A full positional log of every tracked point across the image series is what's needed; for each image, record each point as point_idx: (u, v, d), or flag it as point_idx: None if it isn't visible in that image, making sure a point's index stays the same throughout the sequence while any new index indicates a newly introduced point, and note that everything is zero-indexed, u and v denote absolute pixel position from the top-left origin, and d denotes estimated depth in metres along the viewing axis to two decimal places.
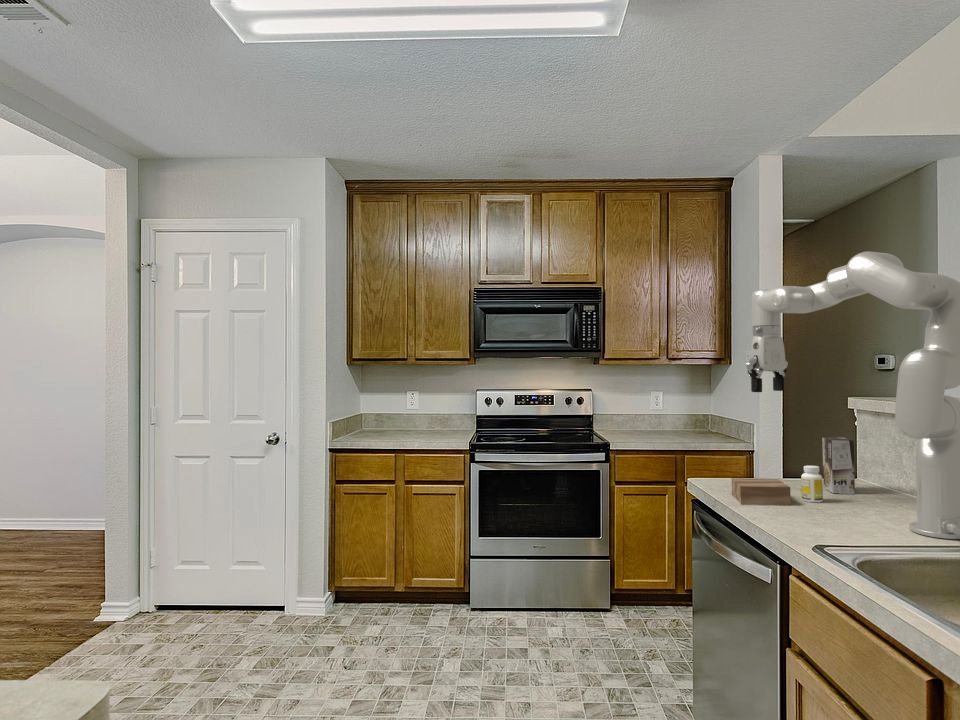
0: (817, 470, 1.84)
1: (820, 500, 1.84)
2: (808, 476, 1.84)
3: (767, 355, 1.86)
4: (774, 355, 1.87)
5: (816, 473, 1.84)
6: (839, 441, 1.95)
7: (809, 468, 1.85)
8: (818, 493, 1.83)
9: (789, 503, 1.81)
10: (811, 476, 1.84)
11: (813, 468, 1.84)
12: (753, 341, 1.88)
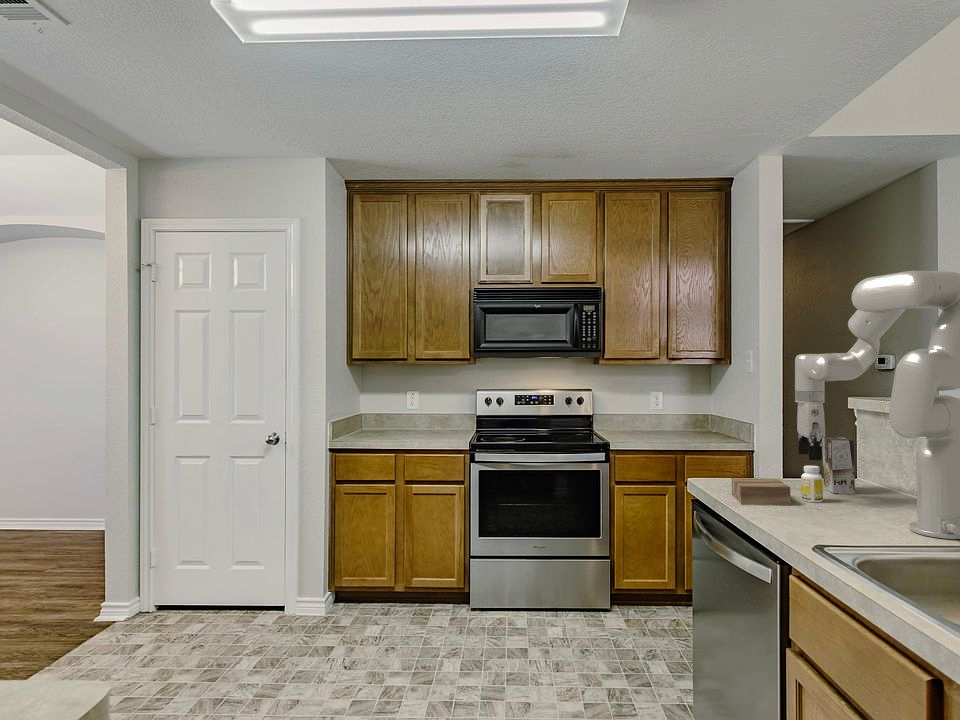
0: (817, 470, 1.84)
1: (820, 500, 1.84)
2: (808, 476, 1.84)
3: None
4: None
5: (816, 473, 1.84)
6: (839, 441, 1.95)
7: (809, 468, 1.85)
8: (818, 493, 1.83)
9: (789, 503, 1.81)
10: (811, 476, 1.84)
11: (813, 468, 1.84)
12: (810, 407, 1.82)
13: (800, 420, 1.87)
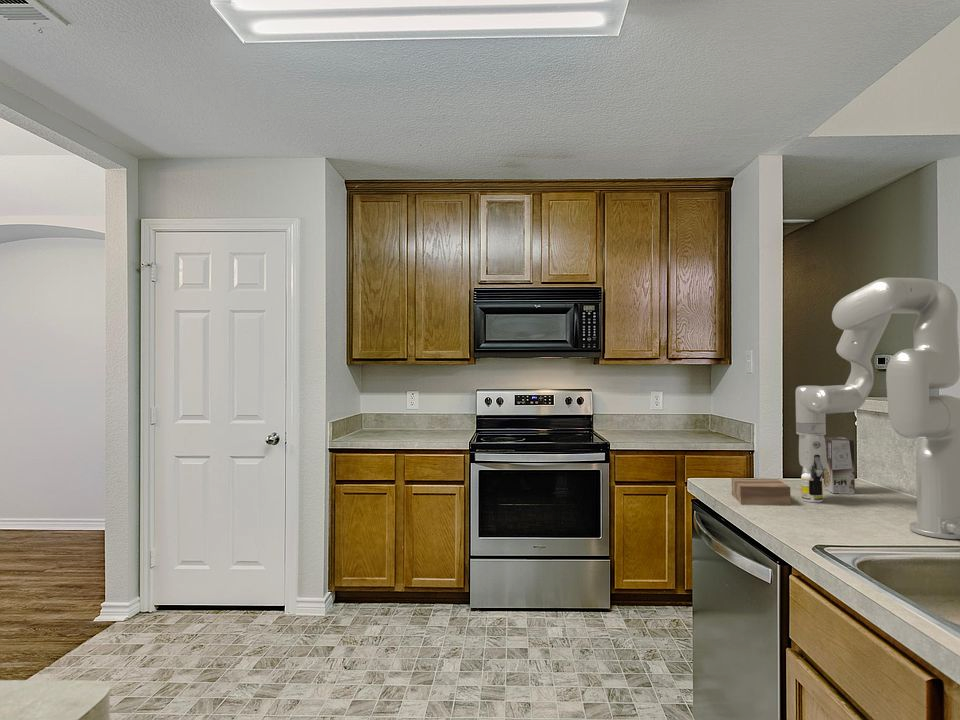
0: None
1: (820, 500, 1.84)
2: (808, 476, 1.84)
3: None
4: None
5: None
6: (839, 441, 1.95)
7: None
8: None
9: (789, 503, 1.81)
10: None
11: (813, 468, 1.84)
12: (811, 440, 1.82)
13: (802, 452, 1.87)
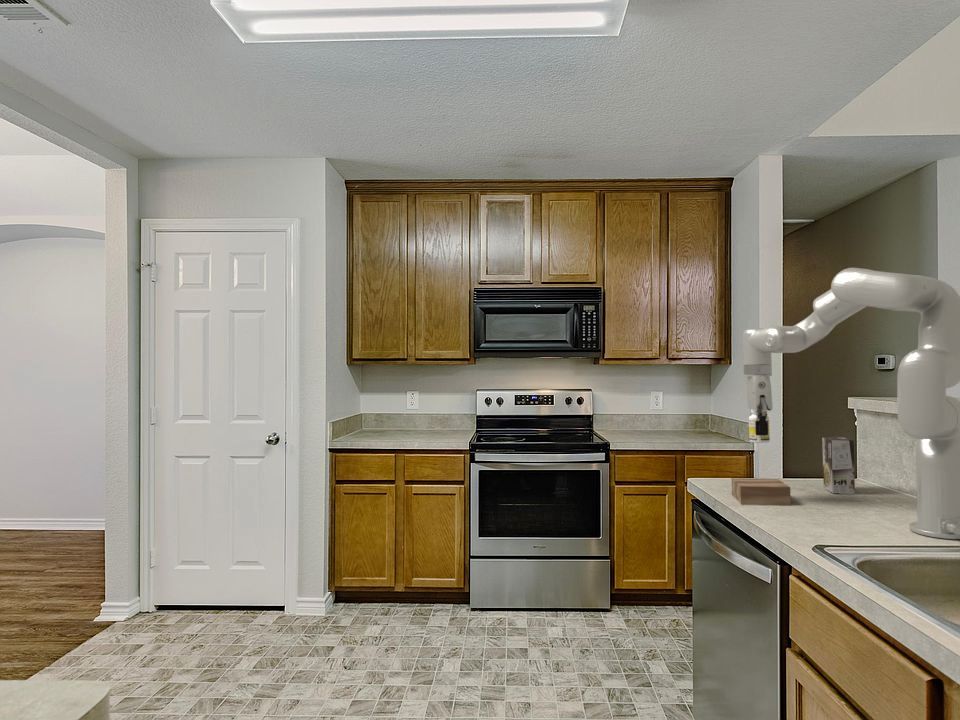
0: None
1: (766, 440, 1.86)
2: (754, 417, 1.87)
3: None
4: None
5: None
6: (839, 441, 1.95)
7: None
8: None
9: (789, 503, 1.81)
10: None
11: (759, 409, 1.87)
12: (757, 380, 1.85)
13: (749, 394, 1.89)
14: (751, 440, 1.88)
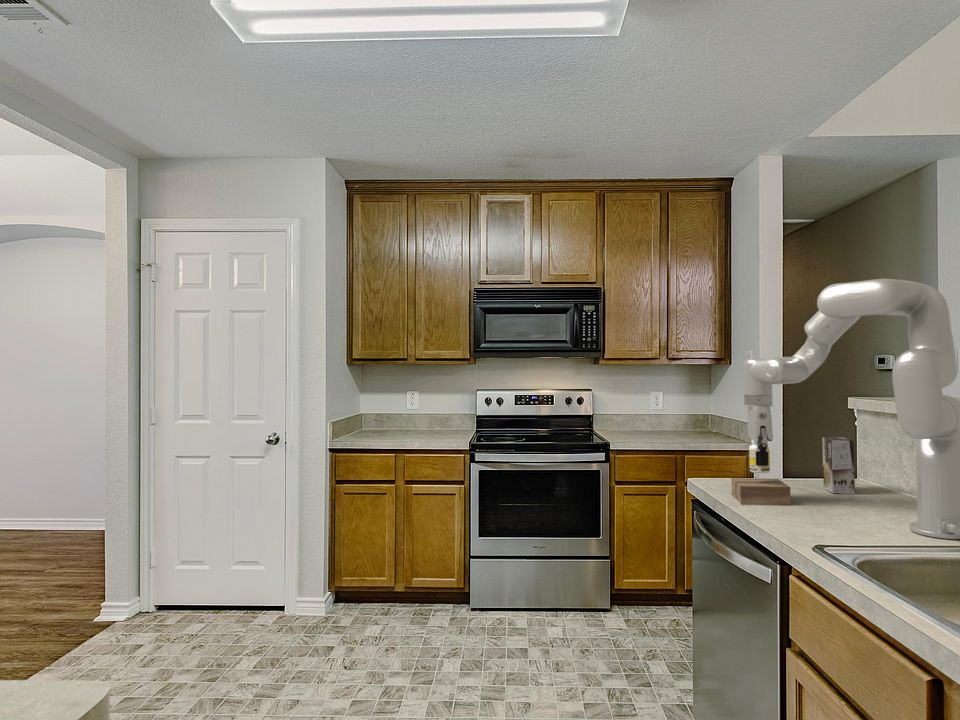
0: None
1: (767, 471, 1.86)
2: (755, 448, 1.87)
3: None
4: None
5: None
6: (839, 441, 1.95)
7: None
8: None
9: (789, 503, 1.81)
10: None
11: (760, 439, 1.87)
12: (758, 411, 1.84)
13: (749, 424, 1.89)
14: (751, 470, 1.88)
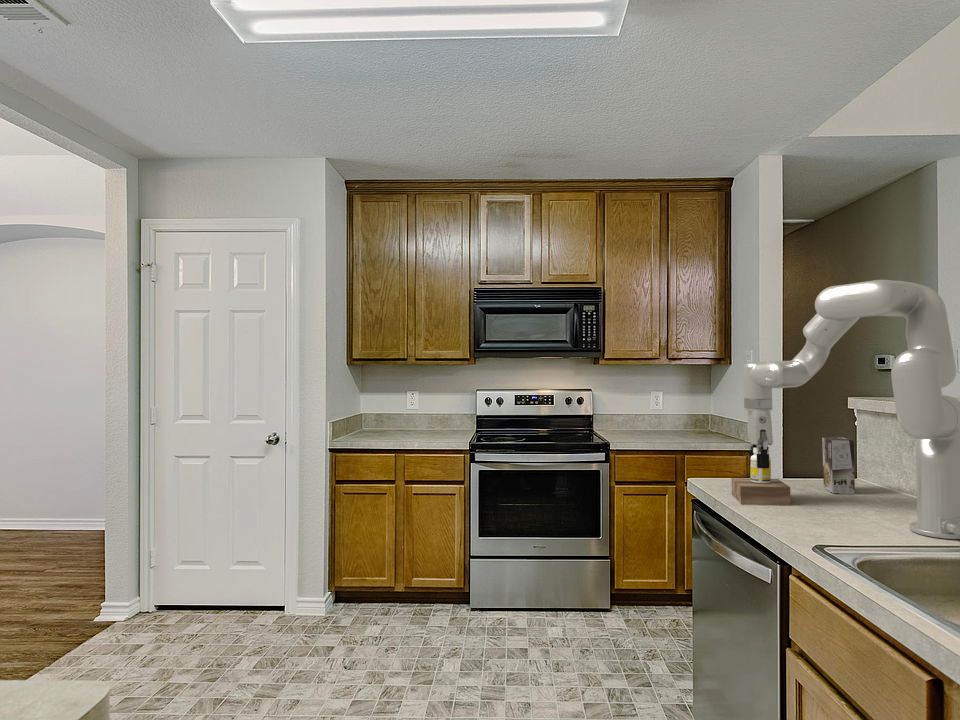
0: None
1: (768, 481, 1.86)
2: (756, 458, 1.87)
3: None
4: None
5: None
6: (839, 441, 1.95)
7: None
8: (766, 474, 1.86)
9: (789, 503, 1.81)
10: None
11: None
12: (758, 415, 1.85)
13: (749, 428, 1.89)
14: (752, 480, 1.88)
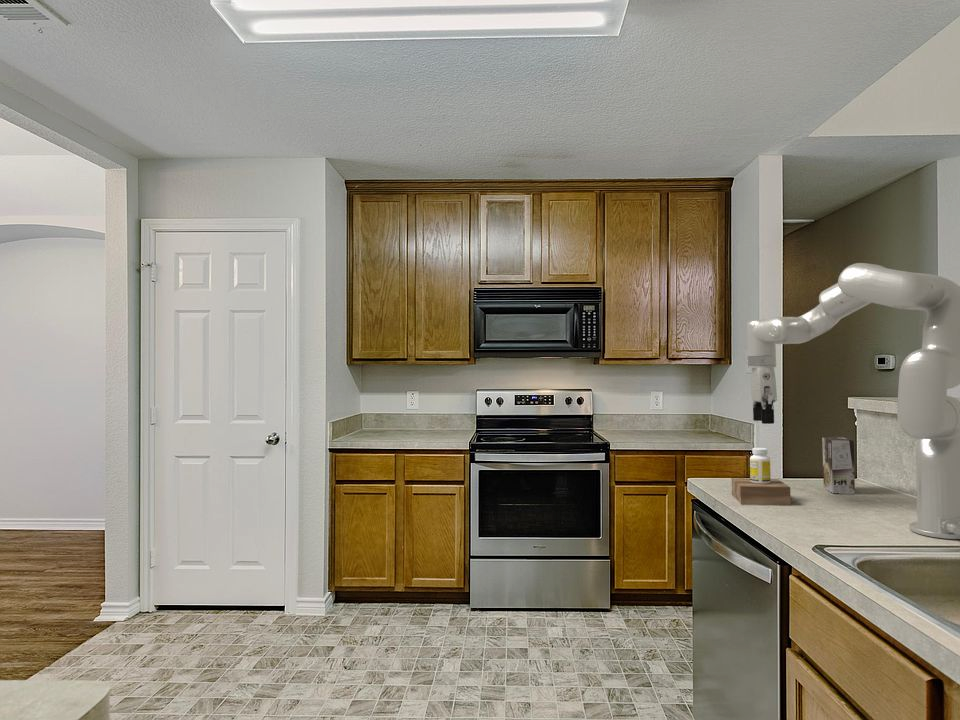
0: (765, 452, 1.87)
1: (768, 481, 1.86)
2: (756, 458, 1.87)
3: None
4: None
5: (764, 455, 1.87)
6: (839, 441, 1.95)
7: (757, 450, 1.87)
8: (766, 474, 1.86)
9: (789, 503, 1.81)
10: (759, 458, 1.86)
11: (761, 450, 1.87)
12: (761, 371, 1.84)
13: (753, 385, 1.88)
14: (752, 481, 1.88)
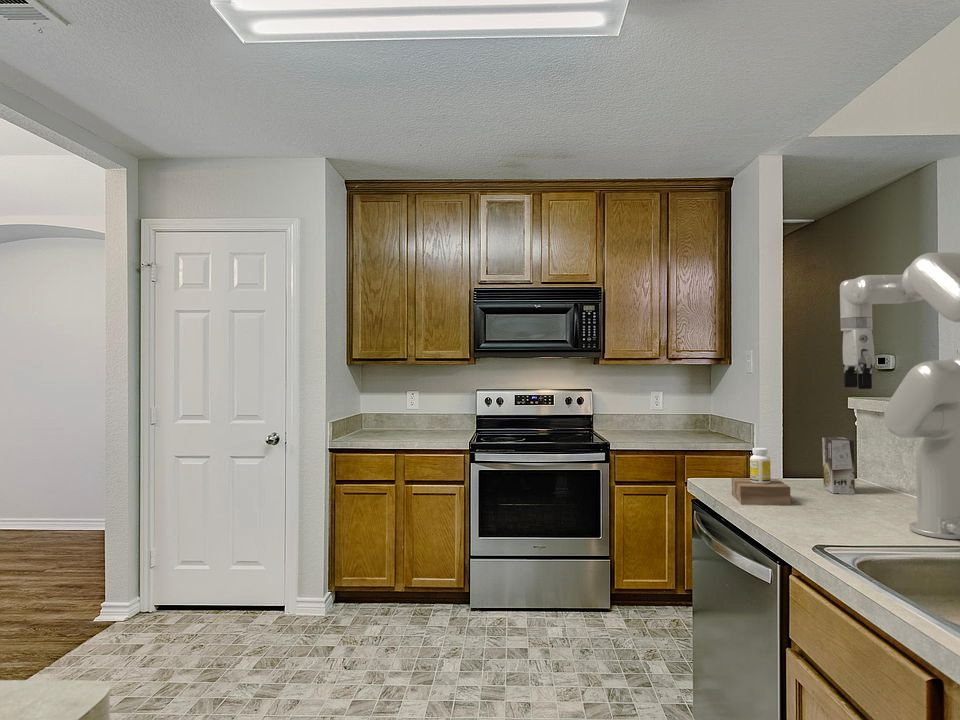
0: (765, 452, 1.87)
1: (768, 481, 1.86)
2: (756, 458, 1.87)
3: None
4: None
5: (764, 455, 1.87)
6: (839, 441, 1.95)
7: (757, 450, 1.87)
8: (766, 474, 1.86)
9: (789, 503, 1.81)
10: (759, 458, 1.86)
11: (761, 450, 1.87)
12: (858, 334, 1.73)
13: (847, 349, 1.78)
14: (752, 481, 1.88)
